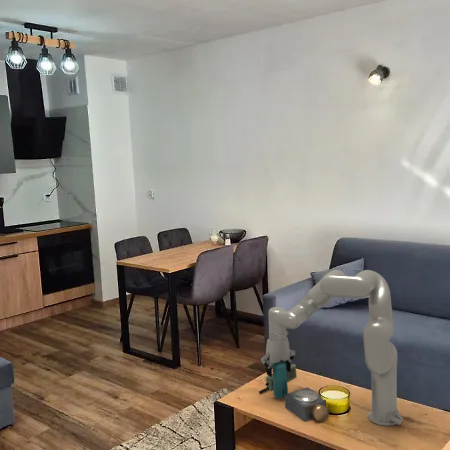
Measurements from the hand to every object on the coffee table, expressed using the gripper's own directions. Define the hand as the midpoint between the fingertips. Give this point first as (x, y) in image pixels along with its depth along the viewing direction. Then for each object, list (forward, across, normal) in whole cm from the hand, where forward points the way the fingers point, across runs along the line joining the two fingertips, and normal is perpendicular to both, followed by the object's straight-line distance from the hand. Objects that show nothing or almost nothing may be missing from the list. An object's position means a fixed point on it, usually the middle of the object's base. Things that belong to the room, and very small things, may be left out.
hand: (278, 373), depth 224 cm
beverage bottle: (+12, 0, 0) cm, 12 cm away
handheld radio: (+12, -7, -11) cm, 18 cm away
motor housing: (+11, -3, +17) cm, 21 cm away
